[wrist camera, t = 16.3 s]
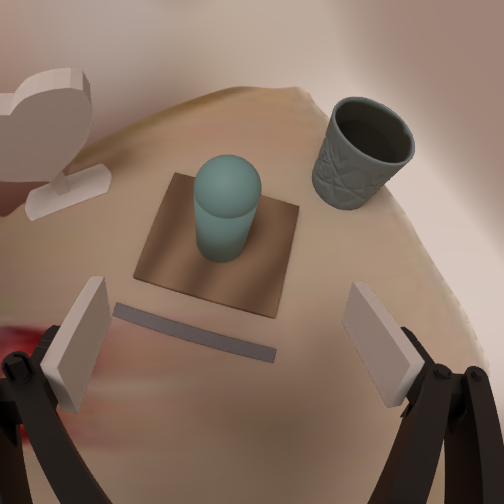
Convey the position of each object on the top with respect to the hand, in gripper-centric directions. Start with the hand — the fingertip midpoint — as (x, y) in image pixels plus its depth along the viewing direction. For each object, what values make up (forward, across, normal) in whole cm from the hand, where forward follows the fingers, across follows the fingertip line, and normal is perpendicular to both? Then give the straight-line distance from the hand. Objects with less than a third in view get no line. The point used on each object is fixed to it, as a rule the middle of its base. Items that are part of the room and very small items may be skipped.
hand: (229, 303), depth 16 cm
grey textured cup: (+27, +16, +1) cm, 31 cm away
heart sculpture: (+25, -21, -1) cm, 33 cm away
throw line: (+13, -3, -13) cm, 18 cm away
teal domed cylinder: (+20, 0, -5) cm, 20 cm away
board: (+20, 0, -5) cm, 21 cm away
